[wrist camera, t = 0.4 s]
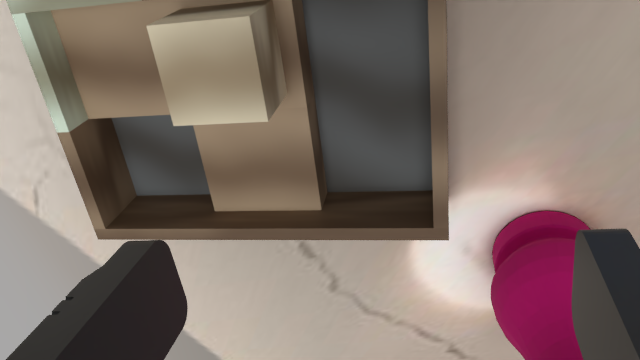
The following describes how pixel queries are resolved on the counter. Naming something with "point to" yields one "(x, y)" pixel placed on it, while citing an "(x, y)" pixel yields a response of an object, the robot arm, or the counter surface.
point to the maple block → (220, 63)
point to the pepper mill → (537, 284)
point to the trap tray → (254, 124)
